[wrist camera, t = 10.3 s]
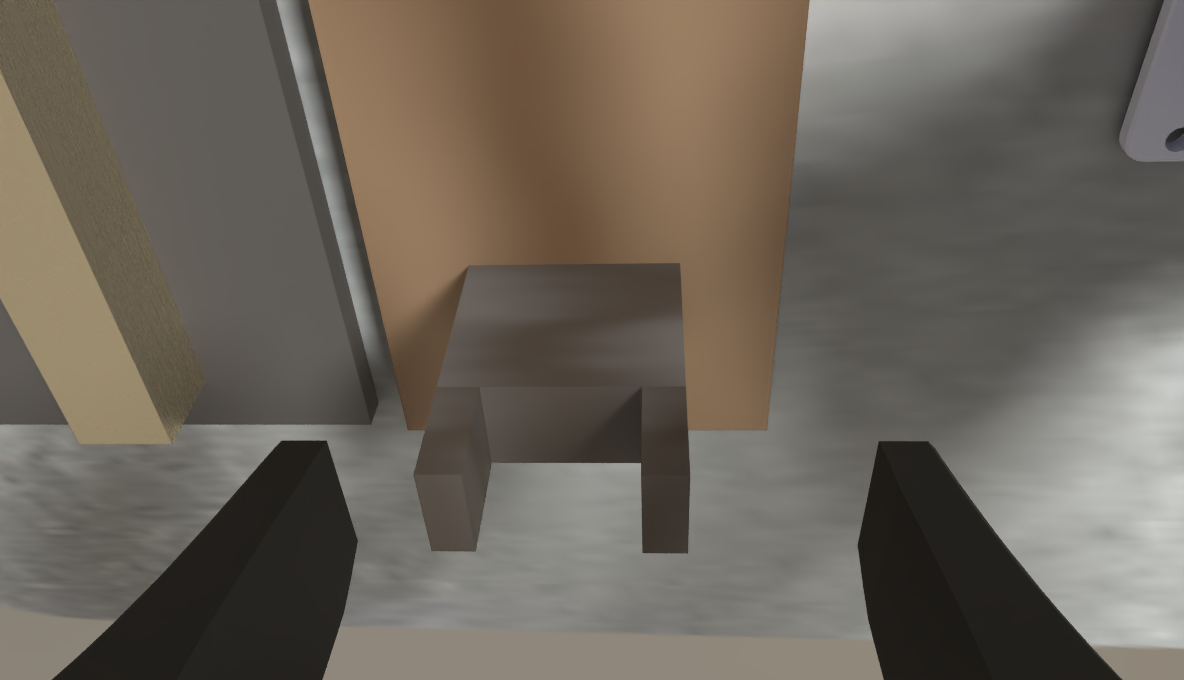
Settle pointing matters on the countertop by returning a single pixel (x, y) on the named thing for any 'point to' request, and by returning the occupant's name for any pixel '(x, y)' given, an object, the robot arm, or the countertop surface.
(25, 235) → the rail
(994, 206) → the countertop surface
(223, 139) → the mat
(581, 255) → the rack
